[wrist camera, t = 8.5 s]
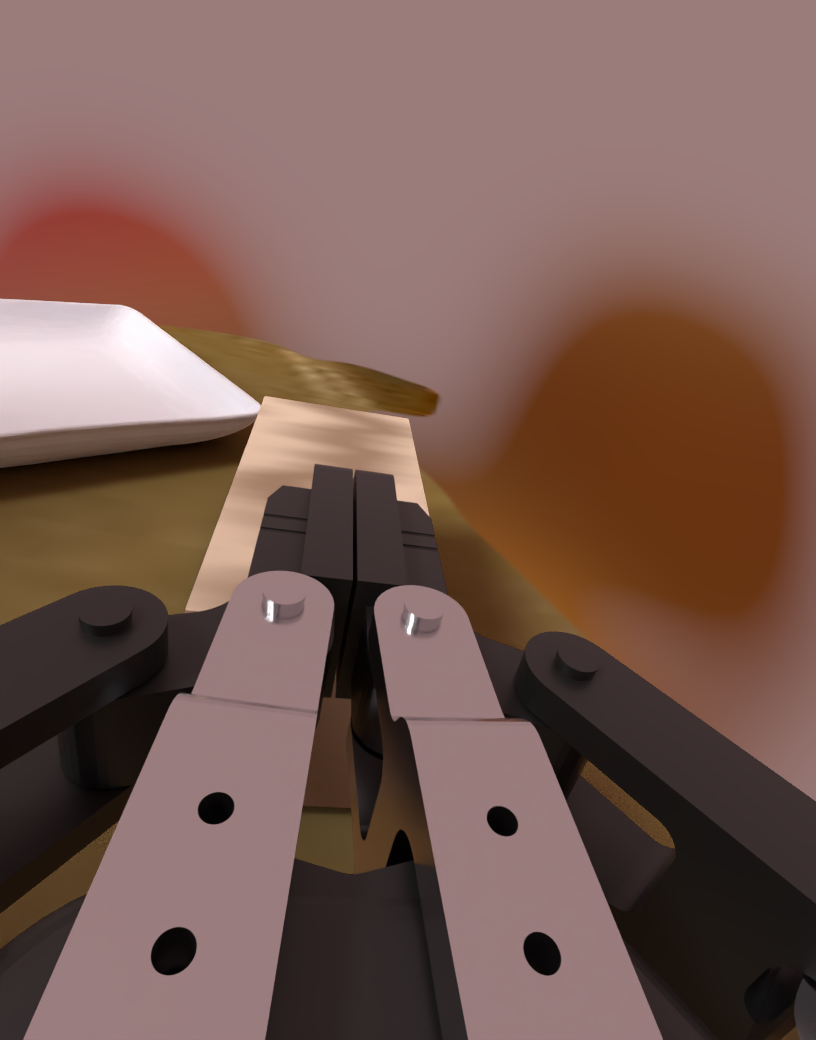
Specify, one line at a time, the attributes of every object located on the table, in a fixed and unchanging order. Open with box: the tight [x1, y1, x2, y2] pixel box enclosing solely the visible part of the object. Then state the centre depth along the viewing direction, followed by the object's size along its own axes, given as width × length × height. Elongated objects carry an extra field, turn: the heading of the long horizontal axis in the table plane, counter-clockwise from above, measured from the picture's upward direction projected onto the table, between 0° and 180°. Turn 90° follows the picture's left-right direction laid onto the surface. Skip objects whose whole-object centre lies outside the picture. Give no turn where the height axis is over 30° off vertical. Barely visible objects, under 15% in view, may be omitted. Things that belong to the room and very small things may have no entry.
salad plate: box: [0, 299, 261, 468], centre depth 33 cm, size 21×21×3 cm
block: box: [184, 396, 429, 808], centre depth 20 cm, size 6×6×14 cm
